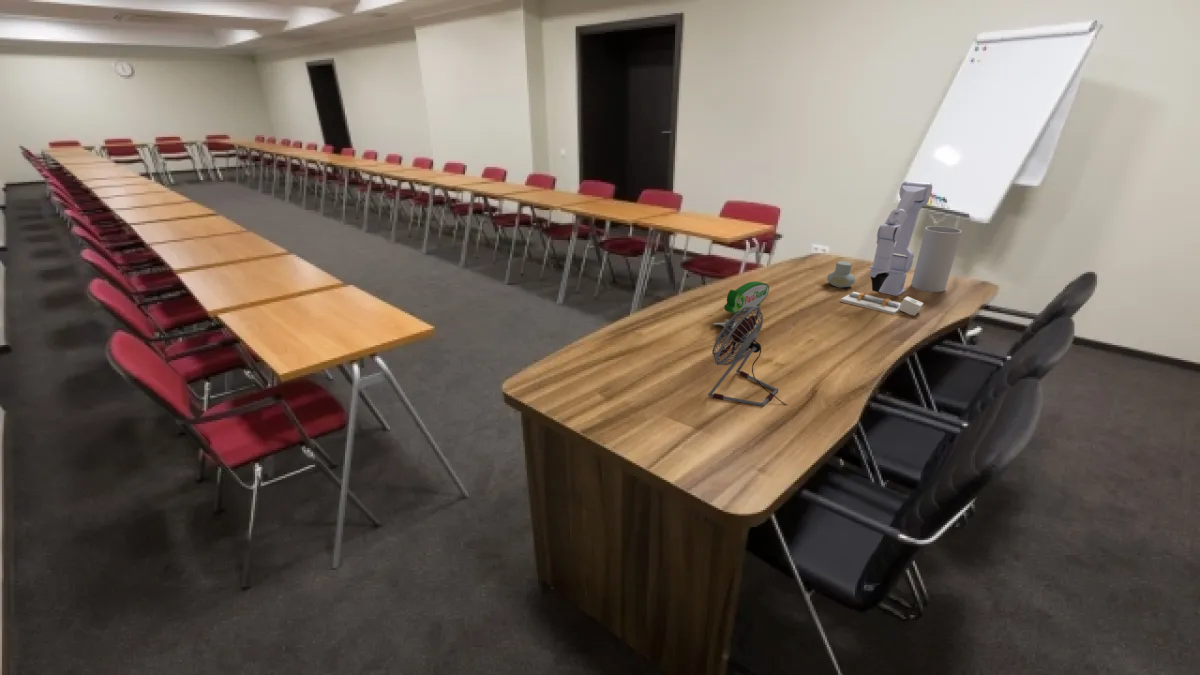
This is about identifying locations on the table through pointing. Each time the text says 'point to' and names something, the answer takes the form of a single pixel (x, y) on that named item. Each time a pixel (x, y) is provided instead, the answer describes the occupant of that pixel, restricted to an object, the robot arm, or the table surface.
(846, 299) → the rail board
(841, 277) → the air freshener
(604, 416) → the table surface
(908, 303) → the block
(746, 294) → the sign
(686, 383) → the table surface
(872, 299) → the din rail
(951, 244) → the cylinder vase
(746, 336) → the metal bracket
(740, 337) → the desk fan
